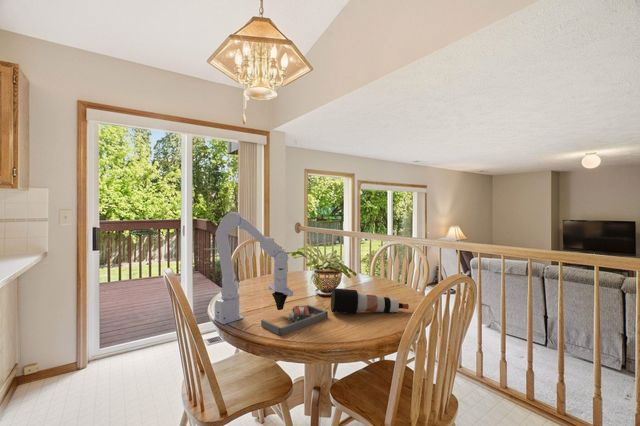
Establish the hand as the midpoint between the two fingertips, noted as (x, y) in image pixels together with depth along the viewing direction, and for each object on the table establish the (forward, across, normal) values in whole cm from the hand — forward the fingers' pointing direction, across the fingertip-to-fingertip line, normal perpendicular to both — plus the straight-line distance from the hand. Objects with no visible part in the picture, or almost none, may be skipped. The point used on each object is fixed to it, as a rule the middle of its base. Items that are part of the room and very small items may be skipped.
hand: (280, 309), depth 126 cm
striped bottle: (+3, -25, -30) cm, 40 cm away
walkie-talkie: (+3, -9, -3) cm, 10 cm away
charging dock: (+2, -10, 0) cm, 10 cm away
